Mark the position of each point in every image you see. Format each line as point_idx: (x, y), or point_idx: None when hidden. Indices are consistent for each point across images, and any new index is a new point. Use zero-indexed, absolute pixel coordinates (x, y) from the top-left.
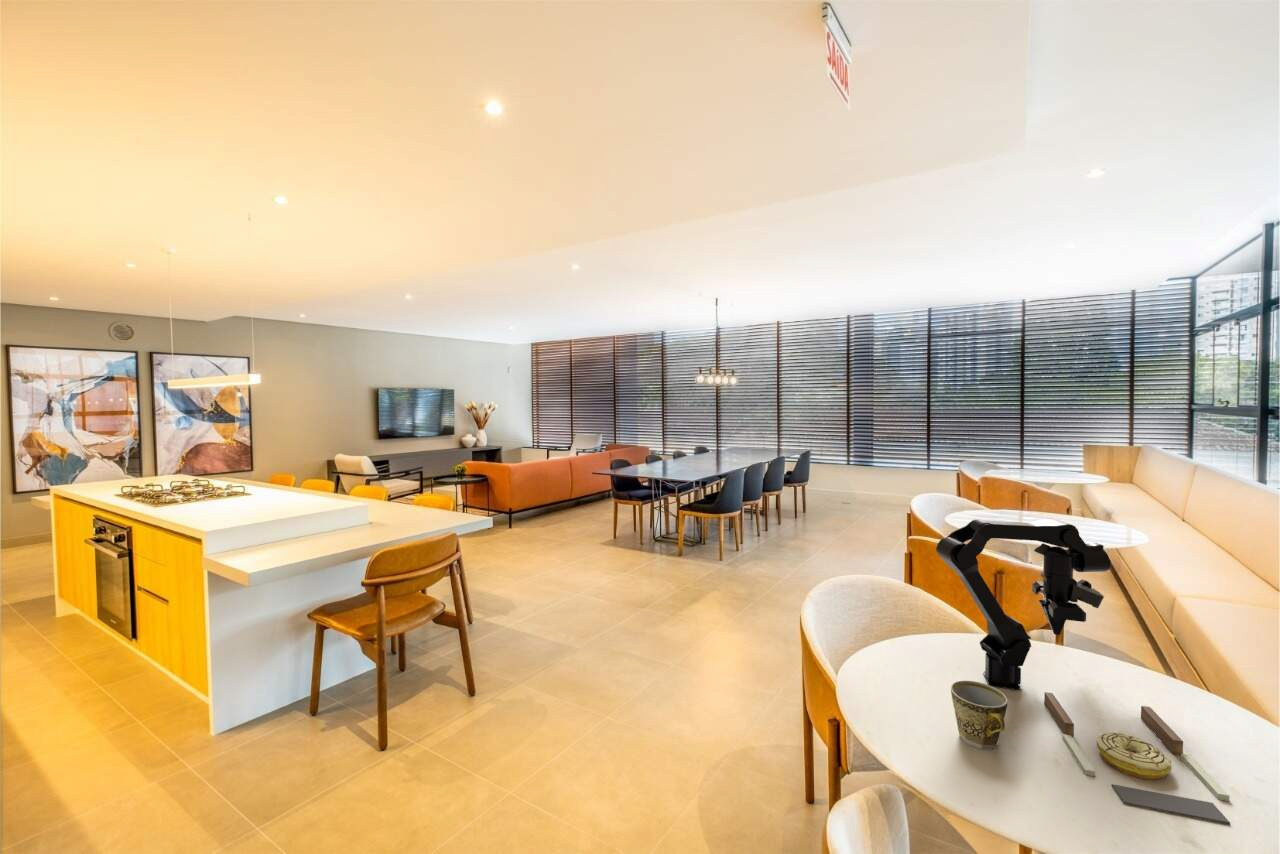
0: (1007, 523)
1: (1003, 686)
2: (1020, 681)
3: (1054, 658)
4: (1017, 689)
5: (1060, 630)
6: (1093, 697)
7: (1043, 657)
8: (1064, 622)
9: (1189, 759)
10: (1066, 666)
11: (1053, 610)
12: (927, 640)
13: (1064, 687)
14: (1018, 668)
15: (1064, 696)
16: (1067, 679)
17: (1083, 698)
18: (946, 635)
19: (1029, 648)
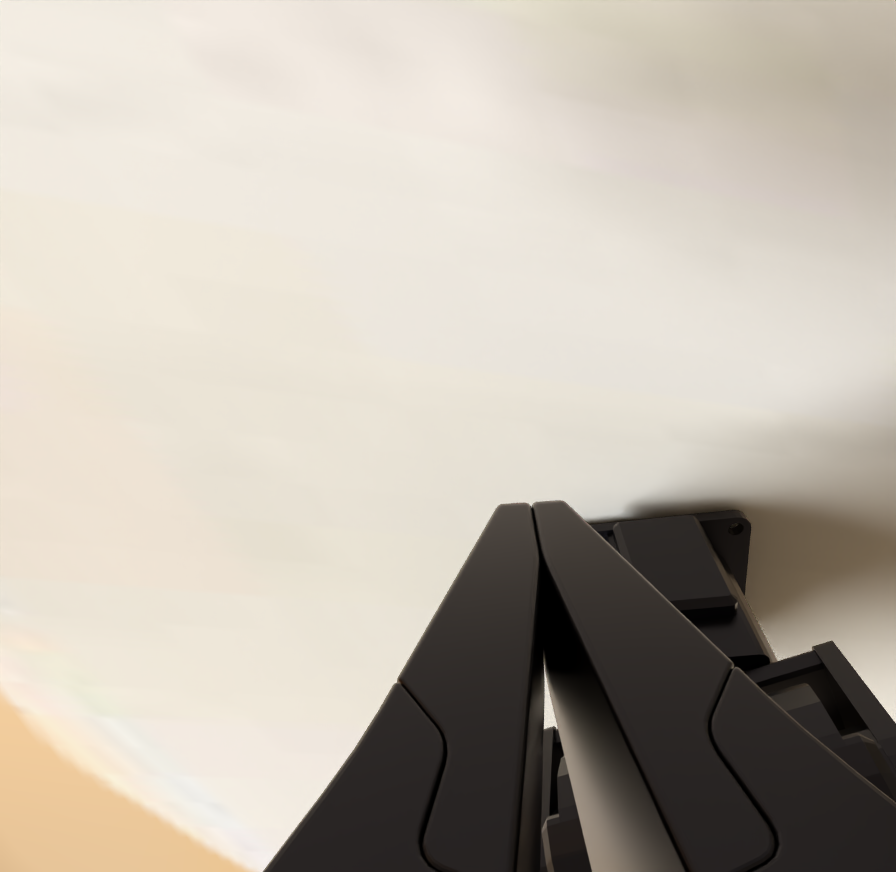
0: None
1: (744, 594)
2: (699, 527)
3: (2, 197)
4: (748, 527)
5: (608, 561)
6: (700, 5)
7: (50, 285)
8: (789, 721)
9: None
10: (119, 121)
11: None
12: (257, 828)
13: (583, 221)
14: (736, 609)
15: (747, 251)
16: (411, 167)
17: (744, 105)
18: (115, 765)
19: (830, 720)
